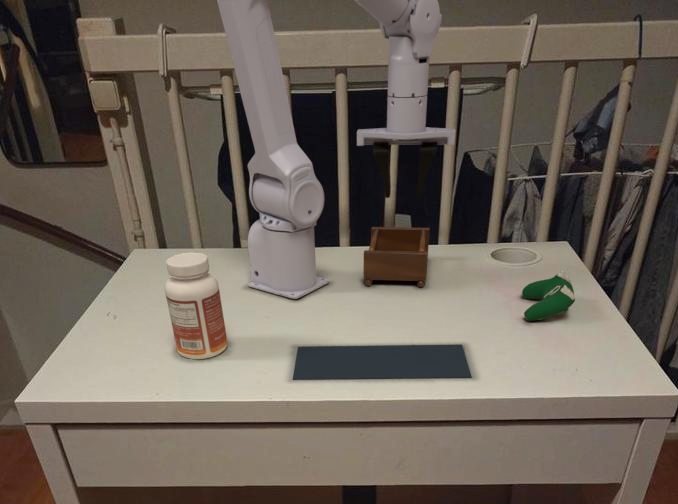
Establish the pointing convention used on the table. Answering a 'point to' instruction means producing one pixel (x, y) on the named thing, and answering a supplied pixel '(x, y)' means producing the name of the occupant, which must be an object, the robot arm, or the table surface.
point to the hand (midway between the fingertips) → (403, 196)
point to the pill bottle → (195, 306)
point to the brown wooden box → (397, 254)
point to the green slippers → (549, 297)
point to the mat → (381, 362)
